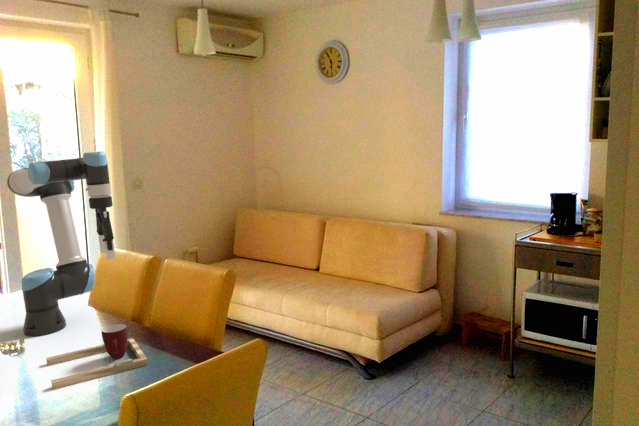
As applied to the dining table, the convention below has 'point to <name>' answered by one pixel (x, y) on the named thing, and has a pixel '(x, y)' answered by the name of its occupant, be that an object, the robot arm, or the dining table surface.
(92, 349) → the track
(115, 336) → the mug
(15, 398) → the dining table surface
